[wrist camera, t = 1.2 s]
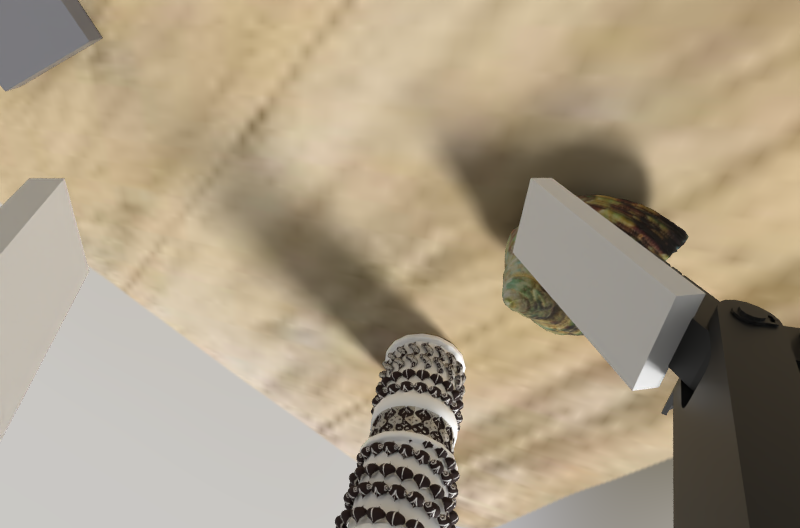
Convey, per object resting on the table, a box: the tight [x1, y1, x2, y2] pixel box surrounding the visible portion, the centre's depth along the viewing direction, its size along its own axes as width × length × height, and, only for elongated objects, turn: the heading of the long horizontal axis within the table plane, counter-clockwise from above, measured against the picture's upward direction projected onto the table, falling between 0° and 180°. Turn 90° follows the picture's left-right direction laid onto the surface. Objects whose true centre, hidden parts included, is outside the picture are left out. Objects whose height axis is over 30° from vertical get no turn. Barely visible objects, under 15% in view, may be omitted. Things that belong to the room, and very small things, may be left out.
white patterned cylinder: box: [335, 333, 466, 528], centre depth 41 cm, size 9×9×25 cm
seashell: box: [502, 195, 688, 335], centre depth 36 cm, size 11×11×10 cm
